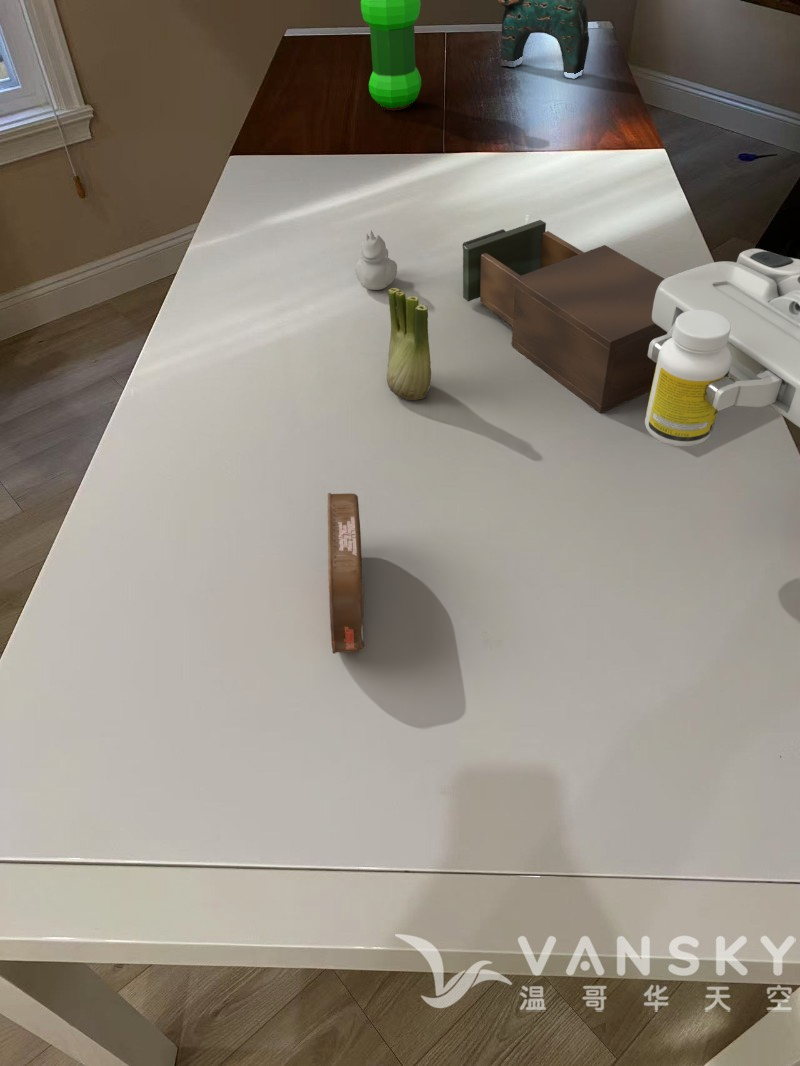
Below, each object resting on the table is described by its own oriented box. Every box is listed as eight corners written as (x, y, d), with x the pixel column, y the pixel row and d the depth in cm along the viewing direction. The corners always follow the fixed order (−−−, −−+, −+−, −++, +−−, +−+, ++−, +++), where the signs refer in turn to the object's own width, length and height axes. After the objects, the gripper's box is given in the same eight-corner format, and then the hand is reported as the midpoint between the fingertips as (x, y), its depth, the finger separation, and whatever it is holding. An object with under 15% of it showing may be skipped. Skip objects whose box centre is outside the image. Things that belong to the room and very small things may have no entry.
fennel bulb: (437, 403, 90) (434, 305, 82) (393, 411, 90) (386, 313, 81) (425, 374, 94) (422, 277, 86) (383, 381, 94) (375, 284, 85)
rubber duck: (350, 294, 108) (344, 236, 102) (366, 270, 112) (360, 212, 106) (390, 298, 106) (386, 239, 101) (404, 274, 111) (401, 216, 105)
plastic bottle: (426, 96, 159) (421, -62, 141) (419, 116, 151) (413, -47, 134) (374, 96, 160) (364, -60, 142) (365, 116, 153) (352, -46, 135)
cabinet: (511, 346, 97) (514, 277, 91) (596, 312, 102) (604, 244, 95) (600, 413, 88) (610, 342, 81) (689, 373, 92) (706, 302, 85)
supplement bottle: (719, 448, 66) (750, 342, 59) (650, 450, 66) (673, 345, 59) (703, 406, 70) (730, 302, 63) (638, 408, 70) (658, 305, 63)
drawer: (444, 283, 106) (443, 232, 102) (517, 257, 110) (519, 207, 105) (533, 350, 95) (537, 296, 90) (611, 319, 99) (619, 265, 94)
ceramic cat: (490, 66, 169) (492, -51, 155) (508, 57, 172) (512, -58, 158) (574, 83, 159) (585, -41, 145) (591, 73, 163) (604, -49, 148)
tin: (331, 540, 77) (320, 472, 71) (365, 537, 77) (356, 469, 71) (333, 675, 66) (320, 608, 60) (372, 672, 66) (363, 605, 60)
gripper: (908, 423, 63) (768, 483, 59) (723, 304, 76) (599, 347, 73) (942, 353, 59) (793, 413, 55) (739, 239, 72) (608, 281, 68)
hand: (681, 374), depth 64 cm, fingers closed on supplement bottle, 5 cm apart
